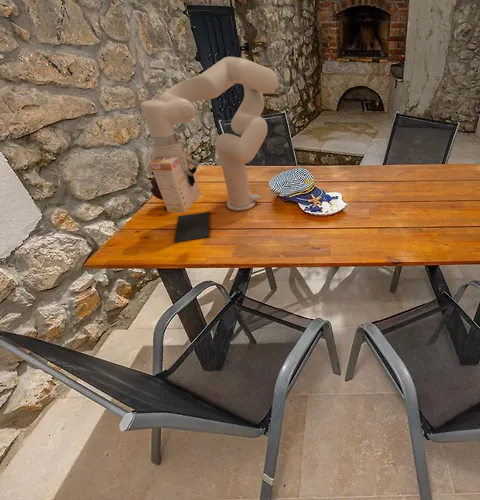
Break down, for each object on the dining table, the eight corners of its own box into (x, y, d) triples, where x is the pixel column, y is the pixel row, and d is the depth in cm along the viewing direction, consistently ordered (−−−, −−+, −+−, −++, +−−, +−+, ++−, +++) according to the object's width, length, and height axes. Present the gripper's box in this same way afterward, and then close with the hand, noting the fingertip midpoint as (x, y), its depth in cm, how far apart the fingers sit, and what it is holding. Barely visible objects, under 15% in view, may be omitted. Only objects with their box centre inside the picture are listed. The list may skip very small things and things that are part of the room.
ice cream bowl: (174, 214, 137) (163, 182, 128) (152, 211, 139) (139, 179, 130) (189, 203, 146) (180, 172, 137) (167, 200, 147) (157, 169, 138)
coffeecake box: (184, 194, 130) (169, 146, 118) (201, 194, 130) (188, 147, 118) (166, 212, 118) (147, 161, 106) (185, 213, 118) (169, 162, 106)
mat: (209, 212, 139) (208, 212, 139) (208, 237, 124) (208, 236, 124) (179, 216, 136) (178, 216, 136) (174, 242, 121) (174, 241, 120)
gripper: (192, 134, 114) (204, 179, 124) (138, 138, 109) (155, 184, 120) (191, 141, 108) (204, 187, 119) (134, 145, 104) (152, 193, 114)
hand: (179, 186), depth 119 cm, fingers closed on coffeecake box, 8 cm apart
